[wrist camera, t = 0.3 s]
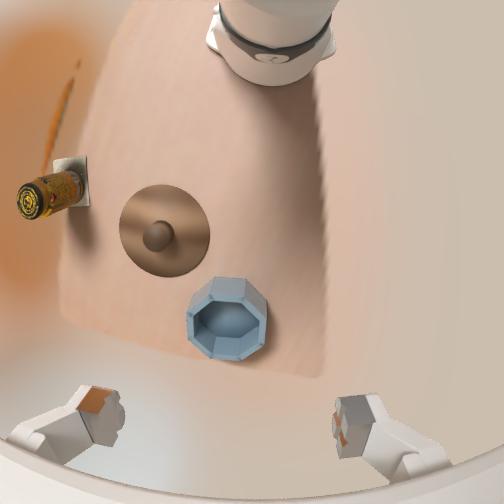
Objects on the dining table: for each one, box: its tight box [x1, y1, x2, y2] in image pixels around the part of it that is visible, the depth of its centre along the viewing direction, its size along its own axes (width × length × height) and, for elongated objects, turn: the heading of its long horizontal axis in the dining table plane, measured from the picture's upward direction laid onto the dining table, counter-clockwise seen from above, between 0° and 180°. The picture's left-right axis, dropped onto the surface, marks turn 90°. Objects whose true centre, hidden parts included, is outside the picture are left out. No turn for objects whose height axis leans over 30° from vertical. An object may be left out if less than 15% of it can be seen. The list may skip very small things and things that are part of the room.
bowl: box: [186, 277, 267, 361], centre depth 49 cm, size 12×12×6 cm
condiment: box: [17, 155, 90, 220], centre depth 39 cm, size 7×8×12 cm
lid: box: [119, 185, 209, 277], centre depth 46 cm, size 15×15×4 cm
